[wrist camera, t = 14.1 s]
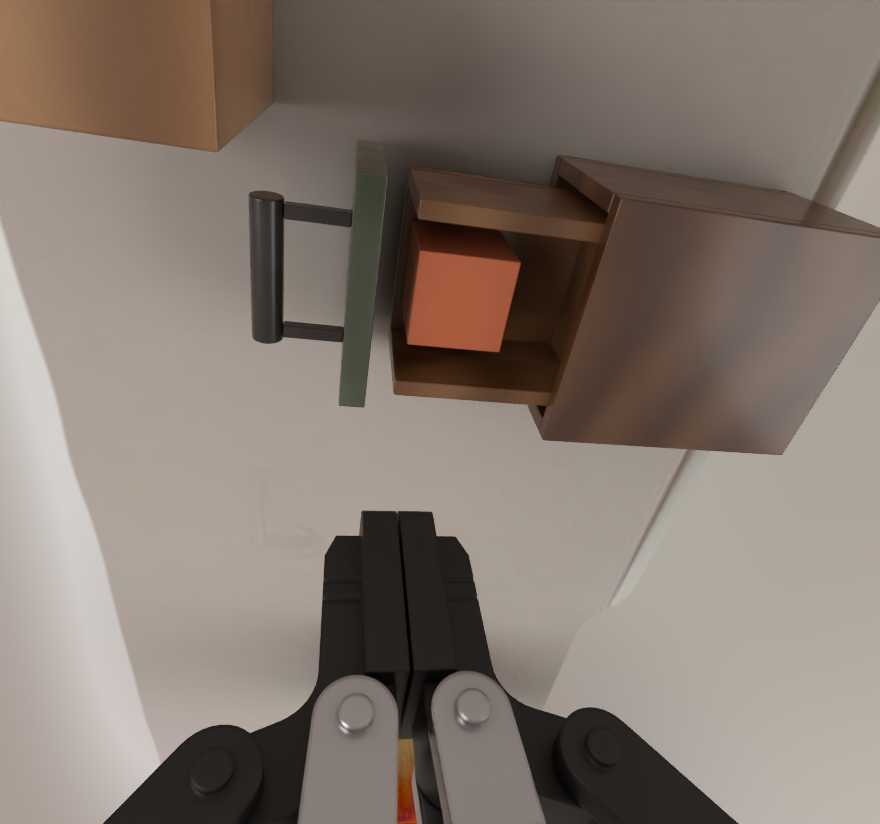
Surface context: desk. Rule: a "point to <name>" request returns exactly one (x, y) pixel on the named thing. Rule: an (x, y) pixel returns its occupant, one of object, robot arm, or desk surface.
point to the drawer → (428, 200)
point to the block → (458, 287)
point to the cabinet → (706, 312)
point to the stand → (138, 67)
